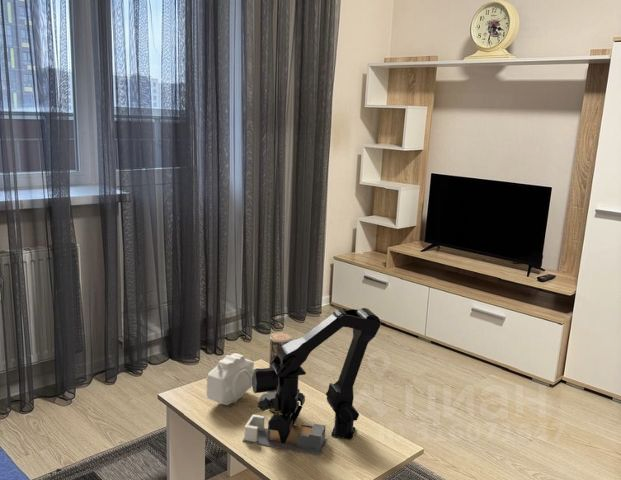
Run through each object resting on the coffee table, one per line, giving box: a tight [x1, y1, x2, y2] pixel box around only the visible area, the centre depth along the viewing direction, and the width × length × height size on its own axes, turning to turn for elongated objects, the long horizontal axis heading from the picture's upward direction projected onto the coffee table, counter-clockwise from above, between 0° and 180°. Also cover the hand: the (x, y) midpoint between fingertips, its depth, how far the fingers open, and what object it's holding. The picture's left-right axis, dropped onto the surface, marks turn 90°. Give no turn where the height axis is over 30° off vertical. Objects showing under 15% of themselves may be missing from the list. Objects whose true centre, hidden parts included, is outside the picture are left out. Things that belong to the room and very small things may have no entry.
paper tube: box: [268, 332, 293, 414], centre depth 189 cm, size 7×7×25 cm
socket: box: [243, 413, 265, 442], centre depth 175 cm, size 7×4×4 cm, turn 167°
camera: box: [206, 353, 255, 406], centre depth 193 cm, size 11×18×16 cm, turn 148°
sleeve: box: [297, 423, 326, 452], centre depth 171 cm, size 6×7×5 cm
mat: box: [242, 427, 327, 457], centre depth 173 cm, size 8×24×1 cm, turn 77°
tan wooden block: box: [267, 424, 312, 445], centre depth 172 cm, size 4×15×4 cm, turn 77°
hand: (286, 436), depth 173 cm, fingers open, 6 cm apart
